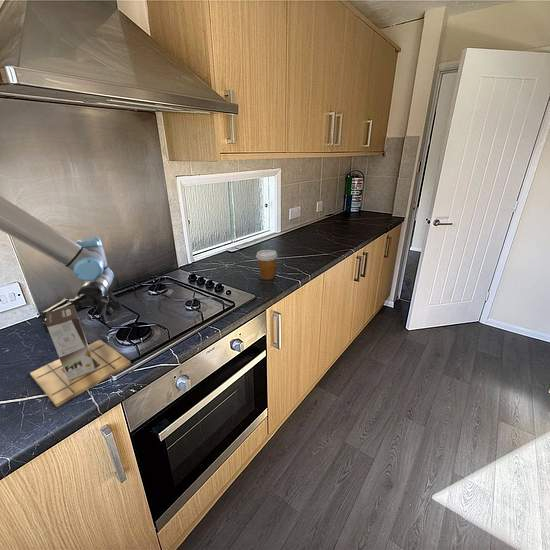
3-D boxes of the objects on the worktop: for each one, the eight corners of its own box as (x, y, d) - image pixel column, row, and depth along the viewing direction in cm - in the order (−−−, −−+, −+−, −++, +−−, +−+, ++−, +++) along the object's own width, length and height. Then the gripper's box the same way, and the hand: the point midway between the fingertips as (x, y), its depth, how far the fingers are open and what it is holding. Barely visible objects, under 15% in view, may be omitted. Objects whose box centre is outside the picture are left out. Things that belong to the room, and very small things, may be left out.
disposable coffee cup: (265, 272, 140) (264, 248, 135) (282, 276, 134) (281, 251, 130) (253, 279, 133) (251, 254, 128) (269, 283, 127) (268, 258, 123)
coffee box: (96, 370, 77) (78, 317, 71) (67, 381, 74) (46, 327, 67) (91, 353, 84) (74, 303, 78) (64, 362, 80) (44, 312, 74)
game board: (57, 409, 68) (55, 403, 67) (31, 377, 78) (29, 372, 77) (131, 365, 81) (130, 360, 80) (101, 343, 91) (99, 338, 90)
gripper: (136, 295, 103) (127, 326, 85) (54, 307, 97) (26, 344, 78) (131, 275, 100) (121, 303, 82) (46, 287, 94) (15, 320, 75)
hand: (75, 323), depth 80 cm, fingers open, 13 cm apart
